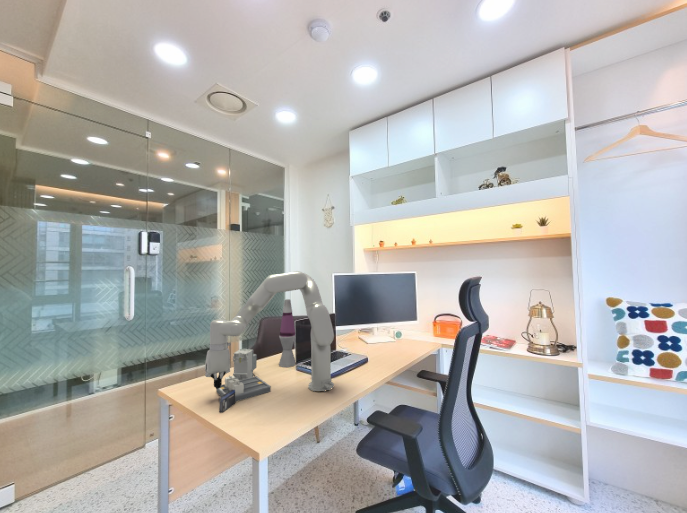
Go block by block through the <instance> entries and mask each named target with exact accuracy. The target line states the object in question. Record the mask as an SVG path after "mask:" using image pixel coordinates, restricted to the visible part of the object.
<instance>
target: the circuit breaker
mask: <svg viewBox="0 0 687 513" xmlns="http://www.w3.org/2000/svg"><path fill="white" fill-rule="evenodd" d="M257 360H258V358H257V354H256V353H254V349H250V348H249V349H246V348H245V349H242V348H241V349H238V350H236V351H235V352H233V356H232V362H233V372H232V376H234V377H235V379H238V380H243V379H247V378H251V377H254V371H255V369H257V366H258V365H257Z"/></svg>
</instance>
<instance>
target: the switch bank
mask: <svg viewBox="0 0 687 513" xmlns="http://www.w3.org/2000/svg"><path fill="white" fill-rule="evenodd" d="M240 382H242V383H243V384H244V393H241V394H238V395H235V403H237V402H239V401H240V402H241V401H243V400H247V399H250V398H252V397H253V398H254V397H257V396H260V395H264V394H266V393H269V392H272V390H271V389H272V388H271V385H270V384H268V383H267V382H265V381H264V380H263V379H262V378H260V377H259V376H253V377H251V378H247V379H243V380H239V383H240ZM215 389H216V388H215ZM229 391H230V390H229V387H228V388H226V387H225V383H222V385H221V386H220V388H218V389H216V391H215V392H216V393H217V394H218V395H219V397H221V396H223V395H224V394H226V393H227V392H229Z"/></svg>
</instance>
